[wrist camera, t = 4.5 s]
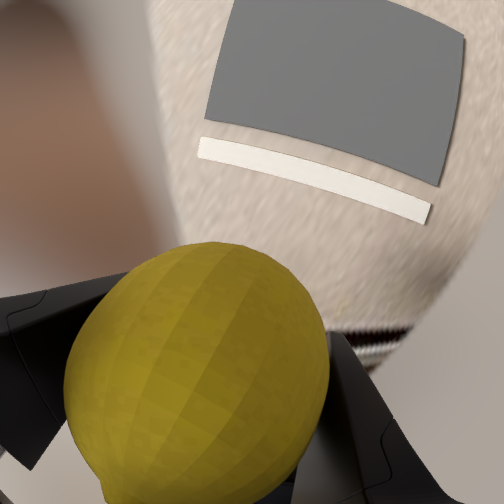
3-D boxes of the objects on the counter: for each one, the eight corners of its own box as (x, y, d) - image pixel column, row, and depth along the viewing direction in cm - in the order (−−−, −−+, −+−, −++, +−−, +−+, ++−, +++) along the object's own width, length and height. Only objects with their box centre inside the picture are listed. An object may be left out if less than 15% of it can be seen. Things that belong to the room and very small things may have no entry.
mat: (434, 185, 15) (436, 186, 15) (206, 119, 18) (204, 118, 17) (461, 36, 10) (463, 34, 10) (244, -22, 12) (242, -24, 12)
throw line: (421, 223, 16) (423, 224, 16) (199, 156, 19) (197, 157, 18) (429, 202, 16) (431, 204, 15) (203, 136, 18) (200, 136, 18)
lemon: (314, 191, 8) (203, 533, 1) (340, 342, 10) (313, 568, 2) (157, 226, 10) (-39, 363, 2) (206, 350, 11) (109, 510, 4)
